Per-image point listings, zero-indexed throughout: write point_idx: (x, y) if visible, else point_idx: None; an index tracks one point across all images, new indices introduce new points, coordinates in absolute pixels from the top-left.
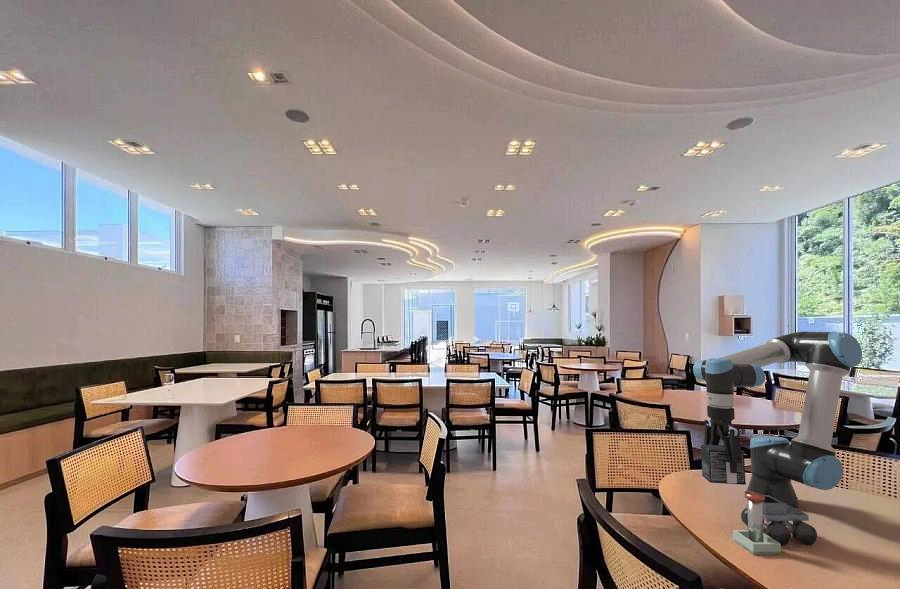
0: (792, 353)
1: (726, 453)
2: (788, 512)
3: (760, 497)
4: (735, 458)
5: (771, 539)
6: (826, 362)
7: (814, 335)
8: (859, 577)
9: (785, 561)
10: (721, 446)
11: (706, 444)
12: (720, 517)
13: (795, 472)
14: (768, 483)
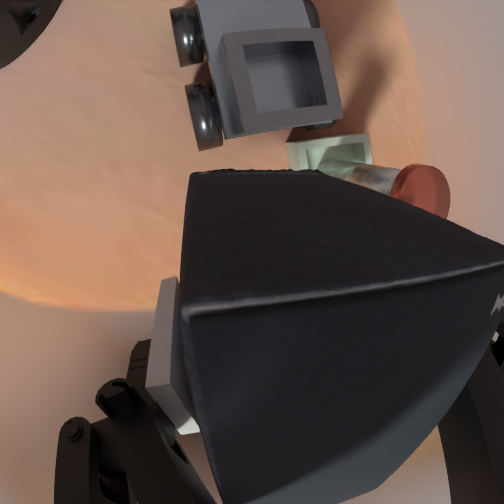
0: None
1: None
2: (286, 23)
3: (449, 200)
4: (492, 344)
5: (350, 142)
6: None
7: None
8: (403, 45)
9: (377, 144)
10: (310, 480)
11: (133, 496)
12: (142, 193)
13: None
14: (5, 4)
